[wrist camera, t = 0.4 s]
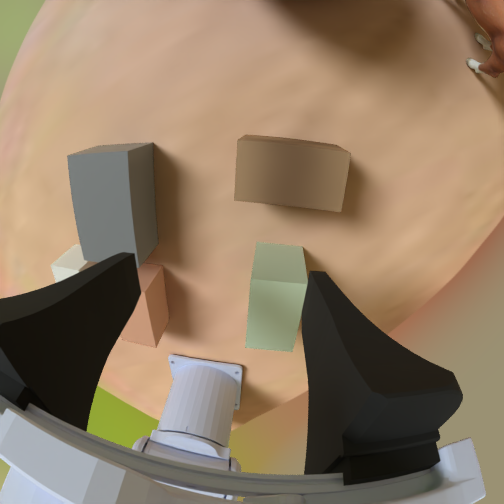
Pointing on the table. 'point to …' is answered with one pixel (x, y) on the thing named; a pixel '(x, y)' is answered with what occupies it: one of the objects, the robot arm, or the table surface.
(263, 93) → the table surface
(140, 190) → the charcoal brick
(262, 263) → the sage brick
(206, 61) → the table surface
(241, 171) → the walnut brick
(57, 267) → the pale grey brick
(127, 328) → the terracotta brick
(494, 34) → the bull figurine
